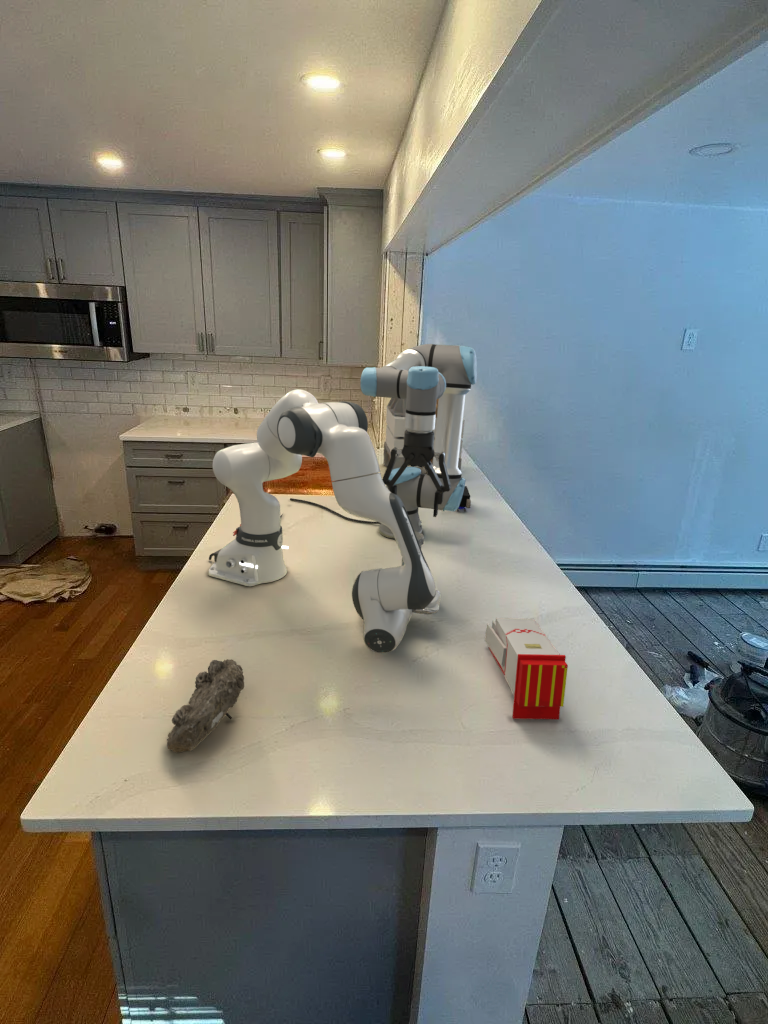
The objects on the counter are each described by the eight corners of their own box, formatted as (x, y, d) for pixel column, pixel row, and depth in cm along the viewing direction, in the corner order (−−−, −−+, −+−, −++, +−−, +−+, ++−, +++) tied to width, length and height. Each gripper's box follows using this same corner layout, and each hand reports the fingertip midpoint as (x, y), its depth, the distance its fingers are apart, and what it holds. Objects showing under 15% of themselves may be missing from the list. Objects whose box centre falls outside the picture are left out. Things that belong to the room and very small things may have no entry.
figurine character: (470, 516, 223) (465, 500, 237) (473, 499, 220) (467, 484, 233) (453, 516, 223) (449, 500, 236) (455, 498, 220) (451, 483, 233)
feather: (290, 508, 223) (292, 504, 223) (272, 532, 197) (275, 527, 196) (286, 505, 223) (289, 501, 223) (268, 529, 197) (271, 525, 196)
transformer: (382, 463, 289) (386, 382, 275) (445, 464, 293) (451, 384, 279) (390, 482, 257) (394, 392, 243) (460, 483, 261) (468, 394, 247)
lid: (412, 549, 149) (413, 541, 148) (395, 542, 153) (396, 534, 152) (428, 543, 153) (428, 536, 152) (411, 536, 157) (412, 529, 156)
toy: (531, 603, 136) (576, 661, 106) (526, 655, 139) (569, 725, 109) (481, 602, 135) (512, 660, 106) (477, 654, 138) (507, 724, 109)
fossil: (192, 660, 117) (244, 628, 112) (224, 691, 120) (276, 661, 115) (142, 746, 98) (202, 712, 93) (182, 779, 101) (242, 748, 96)
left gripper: (438, 602, 135) (445, 577, 147) (355, 589, 139) (369, 566, 151) (436, 625, 137) (443, 599, 149) (354, 612, 141) (368, 587, 153)
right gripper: (467, 431, 143) (459, 513, 151) (378, 423, 148) (375, 503, 156) (463, 437, 136) (455, 522, 144) (371, 428, 141) (368, 511, 149)
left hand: (405, 582), depth 150 cm, fingers open, 8 cm apart
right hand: (414, 512), depth 150 cm, fingers open, 11 cm apart
